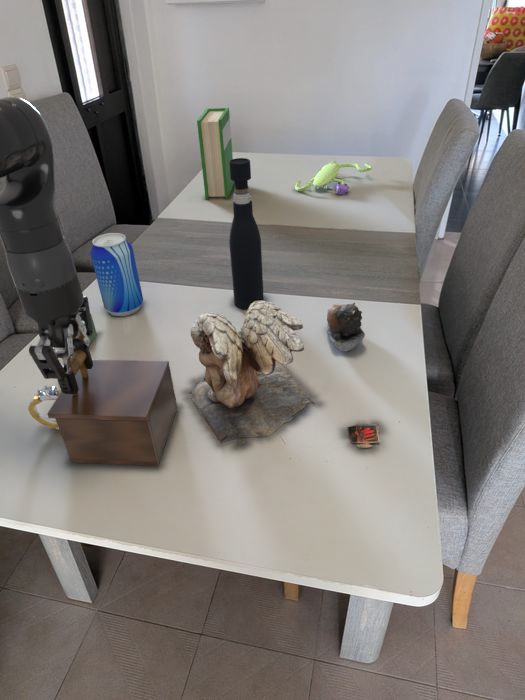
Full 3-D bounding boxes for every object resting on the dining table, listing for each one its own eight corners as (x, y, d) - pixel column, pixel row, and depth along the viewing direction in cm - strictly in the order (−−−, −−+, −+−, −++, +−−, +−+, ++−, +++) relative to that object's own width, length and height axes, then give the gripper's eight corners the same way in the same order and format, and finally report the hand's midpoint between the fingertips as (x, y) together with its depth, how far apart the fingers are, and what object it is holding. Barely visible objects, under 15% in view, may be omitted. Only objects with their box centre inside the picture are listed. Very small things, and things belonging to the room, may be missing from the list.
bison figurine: (321, 324, 104) (322, 279, 98) (356, 322, 104) (359, 277, 98) (330, 359, 94) (332, 312, 88) (369, 357, 94) (373, 309, 88)
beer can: (97, 310, 112) (79, 241, 103) (128, 294, 117) (113, 227, 108) (121, 322, 108) (104, 251, 98) (152, 305, 113) (138, 237, 104)
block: (63, 348, 101) (56, 326, 98) (73, 334, 105) (66, 313, 102) (87, 348, 100) (81, 327, 97) (97, 334, 104) (91, 313, 101)
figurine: (377, 177, 178) (378, 161, 175) (338, 200, 161) (339, 182, 158) (330, 170, 188) (331, 154, 184) (289, 191, 171) (289, 174, 167)
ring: (84, 421, 83) (71, 382, 79) (77, 435, 81) (63, 396, 76) (43, 420, 84) (28, 382, 79) (34, 434, 81) (18, 395, 77)
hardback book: (228, 198, 167) (221, 119, 153) (205, 199, 168) (196, 120, 154) (234, 181, 182) (228, 107, 168) (213, 182, 182) (206, 108, 168)
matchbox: (344, 428, 79) (344, 426, 79) (375, 422, 80) (375, 420, 80) (354, 450, 75) (355, 448, 75) (387, 444, 76) (388, 441, 76)
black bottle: (254, 312, 109) (245, 167, 91) (228, 305, 111) (215, 163, 94) (269, 298, 113) (263, 157, 96) (244, 292, 116) (234, 154, 99)
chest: (71, 462, 76) (54, 418, 71) (101, 405, 86) (88, 363, 81) (157, 466, 75) (147, 421, 70) (177, 407, 85) (169, 365, 80)
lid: (48, 418, 71) (37, 387, 68) (82, 363, 81) (74, 334, 78) (147, 421, 70) (140, 390, 67) (169, 365, 80) (164, 336, 77)
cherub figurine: (272, 355, 96) (269, 268, 85) (325, 412, 82) (328, 317, 72) (182, 386, 90) (167, 296, 79) (224, 453, 76) (211, 356, 66)
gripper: (41, 250, 71) (73, 350, 81) (-13, 303, 60) (31, 412, 70) (94, 250, 71) (119, 351, 80) (49, 303, 59) (85, 414, 69)
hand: (78, 379), depth 75 cm, fingers closed on lid, 5 cm apart
